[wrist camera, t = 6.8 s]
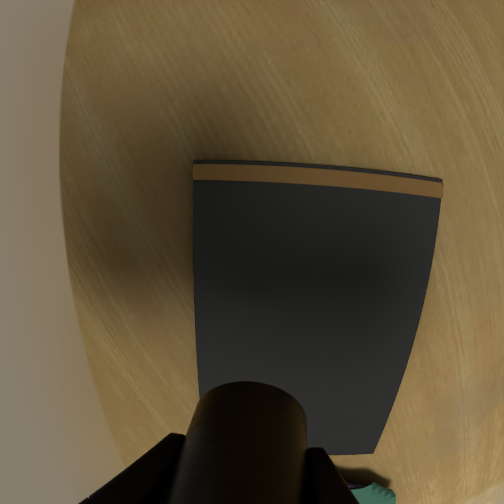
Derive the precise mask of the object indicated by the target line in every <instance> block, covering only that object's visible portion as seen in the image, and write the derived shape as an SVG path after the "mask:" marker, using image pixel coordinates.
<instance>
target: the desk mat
mask: <svg viewBox="0 0 504 504" xmlns="http://www.w3.org/2000/svg"><path fill="white" fill-rule="evenodd" d="M192 180H193V272H194V306H195V330H196V349H197V366H198V381H199V395H200V399H201V398H202V397H203V395H204V394H206V393H207V392H208V391H210V390H211V389H213V388H215V387H217V386H220V385H222V384H226V383H230V382H237V381H253V382H260V383H265V384H269V385H272V386H275V387H277V388H279V389H282V390H284V391H285V392H287V393H289V394H290V395H291V396H293V397H294V398H295V399H296V400H297V401H298V402H299V403H300V405H301V406H302V407H303V409H304V411H305V414H306V417H307V440H308V449H309V448H310V447H322V448H324V449H325V451H326V452H327V454H328V455H355V454H373V453H374V450H375V448H376V446H377V444H378V441H379V439H380V437H381V434H382V432H383V429H384V427H385V424H386V422H387V419H388V417H389V414H390V412H391V409H392V406H393V404H394V401H395V398H396V395H397V393H398V390H399V387H400V384H401V381H402V378H403V375H404V372H405V369H406V366H407V363H408V359H409V356H410V353H411V349H412V346H413V342H414V339H415V335H416V331H417V328H418V324H419V320H420V316H421V312H422V308H423V303H424V299H425V295H426V290H427V285H428V280H429V275H430V270H431V265H432V259H433V254H434V248H435V241H436V235H437V228H438V220H439V212H440V203H441V198H442V194H443V183H442V182H443V180H442V179H438V178H431V177H425V176H418V175H411V174H403V173H396V172H388V171H379V170H371V169H361V168H351V167H341V166H329V165H316V164H302V163H286V162H265V161H235V160H194V161H193V171H192Z"/></svg>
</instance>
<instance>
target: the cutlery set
mask: <svg viewBox="0 0 504 504" xmlns="http://www.w3.org/2000/svg"><path fill="white" fill-rule="evenodd" d="M347 485H348V487H349V488H350V490H351V491H352V493H353V494H354V496H355V497H356V499H357V500H358V502H359V503H360V504H395V502H396V495H395V494H394V492H393V491H392V490H389V489H387V488H386V487H382V486H381V485H380V484H376V483H375V482H372V484H371V485H369V486H363V485H357V484H351V483H347Z"/></svg>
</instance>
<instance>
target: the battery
mask: <svg viewBox="0 0 504 504" xmlns="http://www.w3.org/2000/svg"><path fill="white" fill-rule="evenodd" d="M160 504H308V440H307V417H306V414H305V411H304V409H303V407H302V406H301V405H300V403H299V402H298V401H297V400H296V399H295V398H294V397H293V396H291V395H290V394H289V393H287V392H285V391H284V390H282V389H279V388H277V387H275V386H272V385H269V384H265V383H260V382H253V381H237V382H230V383H226V384H222V385H220V386H217V387H215V388H213V389H211V390H210V391H208V392H207V393H206V394H204V395H203V397H202V398H201V399H200V400H199V402H198V404H197V407H196V409H195V412H194V415H193V417H192V420H191V423H190V425H189V428H188V431H187V433H186V436H185V439H184V441H183V444H182V447H181V450H180V452H179V455H178V458H177V460H176V463H175V466H174V468H173V471H172V474H171V476H170V479H169V482H168V484H167V487H166V490H165V492H164V495H163V498H162V500H161V503H160Z"/></svg>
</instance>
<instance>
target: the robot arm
mask: <svg viewBox="0 0 504 504" xmlns="http://www.w3.org/2000/svg"><path fill="white" fill-rule="evenodd" d="M184 439H185V435H183V434H178V433H170V434H168V435H167V436H166V437H165V438H164V439H162V440H161V441H160V442H159V443H158V444H156V445H155V446H154V447H153V448H151V449H150V450H149V451H148V452H146V453H145V454H144V455H143V456H141V457H140V458H139V459H138V460H136V461H135V462H134V463H133V464H131V465H130V466H129V467H127V468H126V469H125V470H124V471H122V472H121V473H120V474H118V475H117V476H116V477H114V478H113V479H112V480H111V481H109V482H108V483H106V484H105V485H104V486H102V487H101V488H100V489H98V490H97V491H96V492H94V493H93V494H92V495H90V496H89V498H86V499H84V500H83V501H82V502H80V503H79V504H160V503H161V500H162V498H163V495H164V492H165V490H166V487H167V484H168V482H169V479H170V476H171V474H172V471H173V468H174V466H175V463H176V460H177V458H178V455H179V452H180V450H181V447H182V444H183V441H184ZM308 504H360V503H359V502H358V500H357V499H356V497H355V496H354V494H353V493H352V491H351V490H350V488H349V487H348V485H347V483H346V482H345V480H344V479H343V477H342V476H341V474H340V473H339V471H338V470H337V468H336V466H335V465H334V463H333V462H332V460H331V459H330V457H329V456H328V454H327V452H326V451H325V449H324V448H322V447H310V448H309V449H308Z"/></svg>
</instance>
